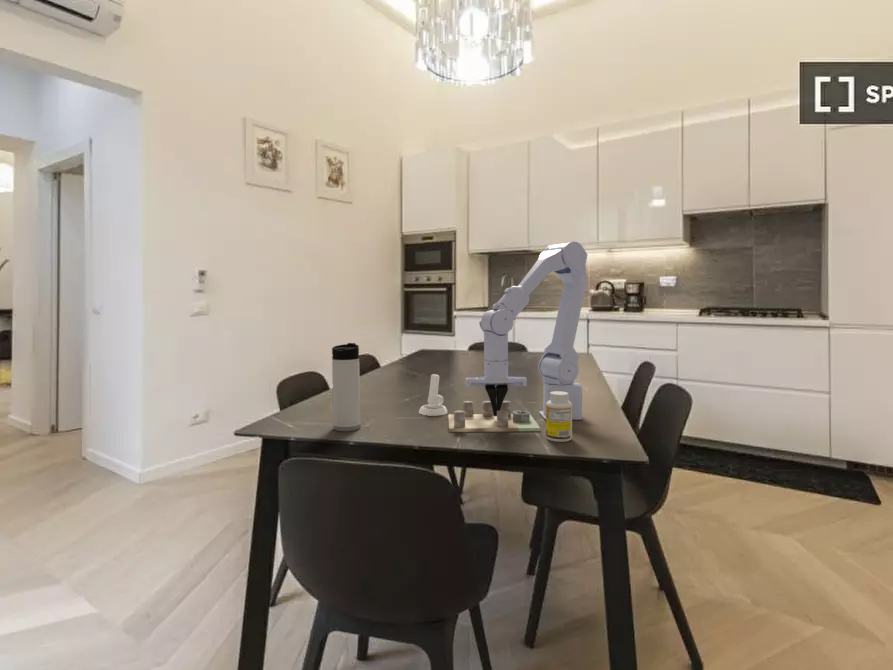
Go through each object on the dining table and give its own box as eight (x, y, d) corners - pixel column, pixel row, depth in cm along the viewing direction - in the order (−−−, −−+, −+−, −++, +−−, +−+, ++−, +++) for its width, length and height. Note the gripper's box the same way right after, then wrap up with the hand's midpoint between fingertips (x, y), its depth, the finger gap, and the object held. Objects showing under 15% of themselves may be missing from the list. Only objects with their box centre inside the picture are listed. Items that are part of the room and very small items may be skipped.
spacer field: (510, 417, 135) (510, 400, 135) (518, 431, 121) (518, 412, 121) (448, 417, 135) (448, 400, 135) (448, 431, 121) (448, 413, 121)
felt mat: (530, 416, 135) (530, 414, 135) (540, 431, 121) (540, 428, 121) (510, 417, 135) (510, 414, 135) (518, 431, 121) (518, 428, 121)
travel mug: (365, 425, 127) (364, 343, 126) (352, 432, 121) (350, 346, 119) (343, 423, 129) (341, 342, 128) (328, 430, 123) (326, 345, 122)
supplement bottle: (553, 434, 119) (554, 389, 118) (576, 438, 115) (577, 392, 114) (541, 439, 115) (541, 393, 114) (564, 444, 111) (564, 396, 110)
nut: (525, 417, 131) (525, 409, 131) (533, 421, 127) (533, 413, 127) (508, 419, 130) (509, 411, 129) (516, 423, 126) (516, 414, 126)
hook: (445, 387, 150) (452, 376, 144) (442, 427, 143) (450, 417, 138) (419, 382, 148) (425, 371, 142) (416, 422, 142) (422, 412, 136)
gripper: (523, 357, 131) (523, 411, 132) (465, 358, 131) (465, 412, 132) (528, 361, 124) (528, 418, 125) (466, 362, 124) (466, 418, 125)
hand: (496, 415), depth 128 cm, fingers closed
